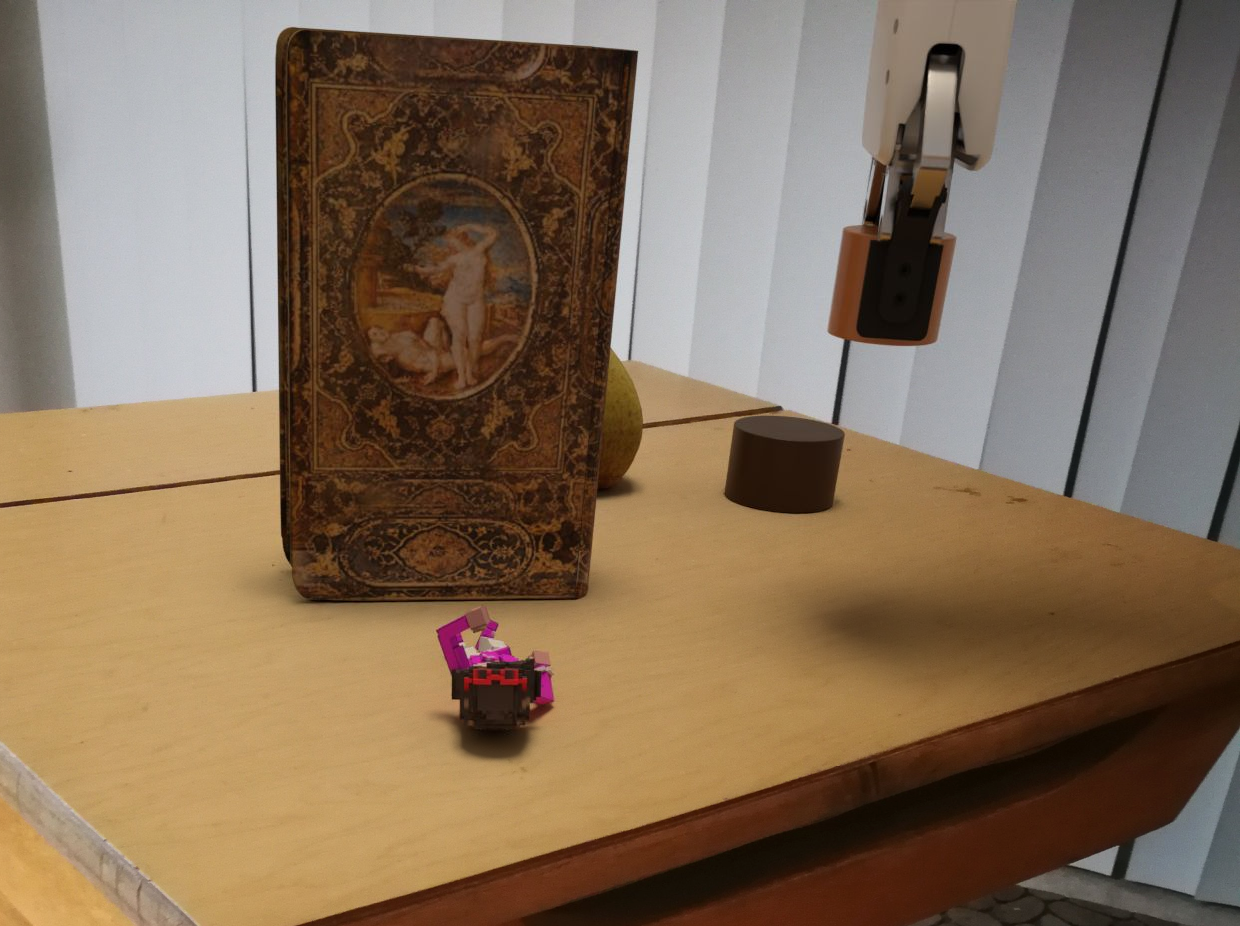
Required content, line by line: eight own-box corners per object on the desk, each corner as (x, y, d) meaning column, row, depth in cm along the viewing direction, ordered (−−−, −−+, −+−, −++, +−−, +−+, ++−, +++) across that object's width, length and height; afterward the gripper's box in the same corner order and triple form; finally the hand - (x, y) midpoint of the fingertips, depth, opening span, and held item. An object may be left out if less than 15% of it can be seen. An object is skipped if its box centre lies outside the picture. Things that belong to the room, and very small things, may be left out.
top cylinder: (929, 330, 75) (948, 229, 73) (943, 349, 71) (964, 242, 68) (823, 323, 75) (838, 221, 73) (830, 341, 71) (847, 234, 69)
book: (572, 567, 86) (617, 47, 73) (598, 598, 82) (651, 51, 68) (281, 569, 83) (271, 25, 69) (291, 602, 78) (283, 27, 65)
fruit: (661, 486, 103) (683, 292, 96) (573, 507, 97) (590, 302, 90) (565, 459, 107) (579, 272, 101) (475, 478, 102) (485, 281, 95)
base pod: (829, 489, 105) (841, 420, 102) (835, 517, 99) (848, 445, 96) (724, 479, 105) (733, 411, 103) (724, 506, 99) (734, 435, 97)
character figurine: (415, 675, 73) (442, 748, 63) (420, 567, 71) (449, 623, 60) (531, 680, 74) (578, 752, 64) (540, 573, 72) (590, 629, 61)
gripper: (1103, -163, 56) (991, 366, 66) (1020, -124, 70) (939, 305, 80) (895, -172, 56) (816, 353, 66) (855, -132, 71) (795, 295, 80)
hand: (884, 322), depth 73 cm, fingers closed on top cylinder, 5 cm apart
